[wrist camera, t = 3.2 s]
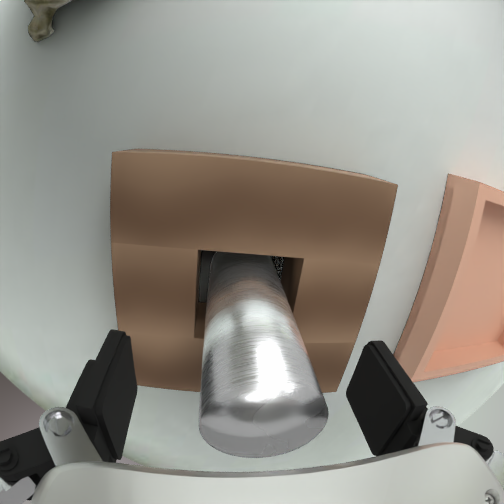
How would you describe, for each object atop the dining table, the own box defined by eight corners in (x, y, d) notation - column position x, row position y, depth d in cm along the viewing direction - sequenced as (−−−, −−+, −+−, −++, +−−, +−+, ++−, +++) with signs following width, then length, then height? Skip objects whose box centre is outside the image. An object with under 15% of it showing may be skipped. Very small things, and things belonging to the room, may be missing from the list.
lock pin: (212, 236, 18) (199, 381, 7) (277, 242, 19) (344, 381, 8) (208, 294, 20) (199, 456, 9) (268, 299, 20) (310, 454, 9)
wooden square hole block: (135, 148, 16) (112, 152, 12) (365, 174, 18) (397, 184, 14) (139, 347, 21) (126, 383, 17) (321, 356, 23) (336, 391, 19)
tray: (448, 173, 18) (480, 182, 15) (540, 209, 20) (563, 219, 17) (392, 357, 24) (409, 382, 20) (493, 342, 26) (510, 358, 22)
